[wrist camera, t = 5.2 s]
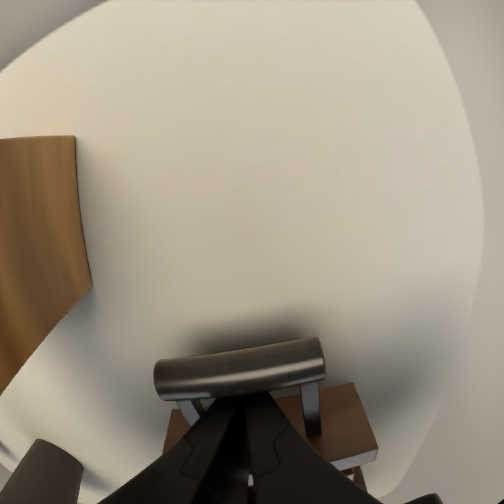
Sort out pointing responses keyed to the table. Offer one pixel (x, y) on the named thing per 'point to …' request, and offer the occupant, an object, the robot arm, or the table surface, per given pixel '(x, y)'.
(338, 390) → the drawer
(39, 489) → the coffee cup
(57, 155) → the pedestal
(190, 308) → the table surface
